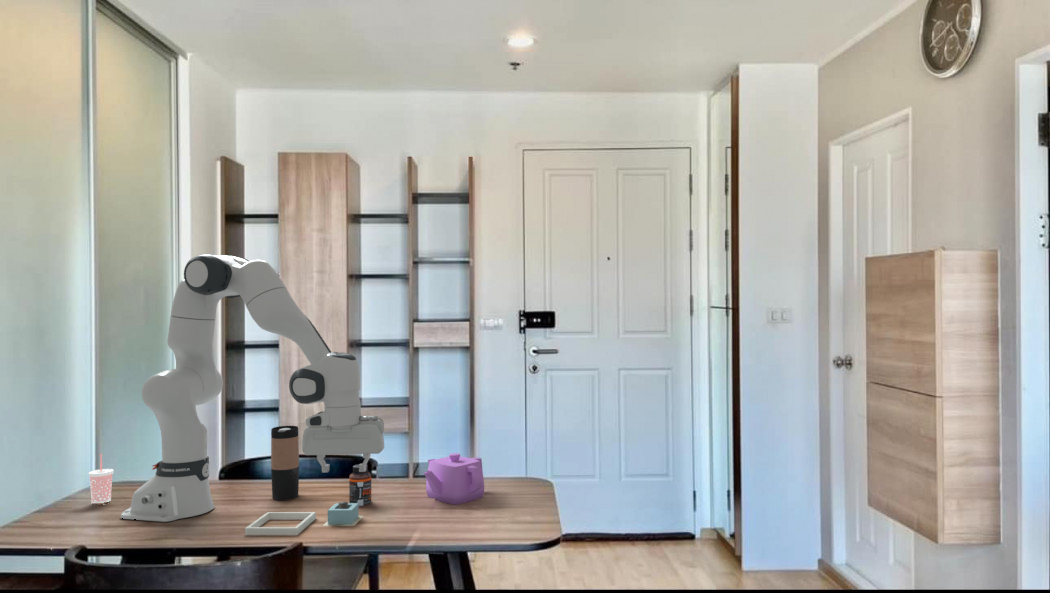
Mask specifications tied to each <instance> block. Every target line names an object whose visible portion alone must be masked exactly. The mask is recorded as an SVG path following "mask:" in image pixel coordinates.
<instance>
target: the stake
mask: <svg viewBox="0 0 1050 593" xmlns="http://www.w3.org/2000/svg"><path fill="white" fill-rule="evenodd" d="M338 503H339V509H348V503H349V502H348V501H345V500H344V501H340V502H338ZM363 517H364V515H359V517H358V518H357V519H356V520H355V521H354V522H353V524H328V520H327V521H325V523H324V524H323V525H322V526H323V527H355V526H356V525H357V523H358V522H360V521H361V519H362V518H363Z"/></svg>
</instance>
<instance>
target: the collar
mask: <svg viewBox="0 0 1050 593" xmlns="http://www.w3.org/2000/svg"><path fill="white" fill-rule="evenodd" d="M359 513H360V511H359V503H349V502H348V509H339V502H336V503H334V504H332V506H331V507H330V508H329V509H328V510H327V521H328V524H353V522H354V521H355V520H356V519H357V518H358V517H359V516H360V514H359Z"/></svg>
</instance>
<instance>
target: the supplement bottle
mask: <svg viewBox="0 0 1050 593" xmlns="http://www.w3.org/2000/svg"><path fill="white" fill-rule="evenodd" d="M360 464H361V463H359V464H355V465H353V466H352V472H351V473H350V474H349V478H348V480H349V482H348V483H349V488H348V489H349V495H348V496H349V498H348V501H349V502H348V503H359V507H365V506H369V505H371V504H372V474H371V472H369V469H368V468H369V466H368V464H366V471H365V472H359V465H360Z"/></svg>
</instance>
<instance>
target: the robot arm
mask: <svg viewBox="0 0 1050 593" xmlns="http://www.w3.org/2000/svg"><path fill="white" fill-rule="evenodd" d="M173 296H174V298H173V301H172V303H171V304H172V306H171V311H170V318H169V327H168V334H167V335H168V336H167V341H166V342H167V346H168V347H169V349H171V350H172V351H173V354H174V357H175V364H176V366H175V368H171V369H166V370H162V371H160V372H158V373H155V374H153V375H151V376H149V377H148V378H147V379H146V380H145V382H144V383H143V386H142V388H141V398H142V401H143V403H144V405H145V406H146V407H147V408H149V410H151V411H152V412H153V414H154V415H155V418H156V420H157V423H158V425H159V429H160V435H161V436H160V438H161V460H160V461H158V462H157V463H155V464H153V465H152V467H153V468H151V470H153V471H154V470H156V472H155V474H154V476H152V477H151V478H150V479H149V480H147V481H146V482H144V484H142V485H141V486H140V487H138V488H136V490H135V491H134V493H133V494H132V498H131V502H130V507H129V508H127V509H125V510H124V511H122V512H121V514H120V519H122V518H123V519H122V520H134V519H136V520H137V521H148V522H149V521H150V522H162V523H167V522H172V521H176V520H180V519H185V518H190V517H196V516H200V515H203V514H206V513H208V512H210V511H212V510H213V509H215V505H214V502H213V498H212V494H211V489H210V481H209V477H210V457H209V456H208V430H207V427H206V425H205V424H203V423H202V422H201V420H200V418H199V416H198V413H197V408H196V407H197V406H200V405H204V404H207V403H208V402H210V401H211V400H213V399H215V398H217V397H218V396H219V395H220V394H221V392H222V390H223V387H224V378H223V376H222V374H221V373H220V371H219V370H218V369H217V366H216V362H215V358H214V351H213V350H214V348H213V347H214V346H213V344H214V332H215V325H216V317H217V307H218V303H219V302H220V300H221V299H223V298H225V297H226V298H227V299H233V298H237V297H241V299H242V301H243V303H244V305H245V307H246V309H247V311H248V313H249V315H250V316H251V318H252V320H253V321H254V322H255V323H256V325H257V326H258V327H259V328H260V329H261V330H263V331H266V332H269V333H272V334H276V335H279V336H282V337H284V338H287V339H289V340H291V341H292V342H294V343H295V344H296V345H297V346H298V347H299V348H300V350H301V352H302V353H303V355H304V356H305V358H306V359H307V361H309V362H308V363H309V365H306V366H303V367H301V368H298V369H296V370H295V371H294V372H292V375H291V376H290V379H289V382H288V383H289V385H288V388H289V392H290V394H291V397H292V398H293V400H295V401H296V402H297V403H299V404H301V405H311V404H317V403H322V402H323V403H324V411H319V412H317V413H315V414H312V415H310V416H307V418H306V419H305V425H306V427H305V429H304V430H303V434H302V442H301V443H302V444H301V450H302V452H303V454H304V455H305V456H316V460H317V461H318V463H319V465H320V466H321V473H329V472H330V471H331V470H330V465H331V464H330V463H327V462H326V460H325V458H326V455H327V456H328V455H331V456H333V455H335V456H336V455H362V458H363V459H364V460H363V462H362V463H359V464H360V465H359V464H358V465H359V472H365V471H366V465H368V462H369V461H370V459H371V456H372V455H376V454H377V455H378V454H380V453H381V452H383V451H384V450H385V437H384V430H385V422H384V420H383V419H382V418H380V417H379V416H377V415H373V416H367V415H366V416H363V415H362V413H361V412H362V411H361V410H362V409H361V408H362V407H361V406H362V405H361V404H362V403H361V399H360V390H361V375H360V367H359V363H358V359H357V357H356V356H354V355H353V354H351V353H347V352H337V351H334V352H332V351H331V349H330V348H329V346H328V345H327V343H326V341H325V340H324V339H323V337H322V336H321V335H320V332H319V330H318V329H317V328H316V327H315V325H314V324H313V323H312V321H311V320H310V319H309V318H308V317H307V316H306V314H304V312H303V311H302V310H301V309H300V308H299V306H298V304H297V303H296V302H295V300H294V299H293V297H292V295H291V294H290V293H289V290H288V288H287V287H286V285H285V283H284V282H283V280H282V279H281V277H280V276H279V274H278V273H277V272H276V270H275V269H274V268H273V267H272V265H271V264H269V263H268V261H265V260H262V259H252V260H250V259H249V258H248V259H247V258H245V257H239V256H233V255H227V254H222V255H220V254H219V255H218V254H217V255H216V254H208V253H207V254H201V255H196V256H194V257H192V258H190V259H189V260H188V261H187V263H186V265H185V266H184V270H183V279H181V280H180V281H179V283H178V285H177V288H176V290H175V293H174V295H173ZM136 520H135V521H136Z"/></svg>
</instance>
